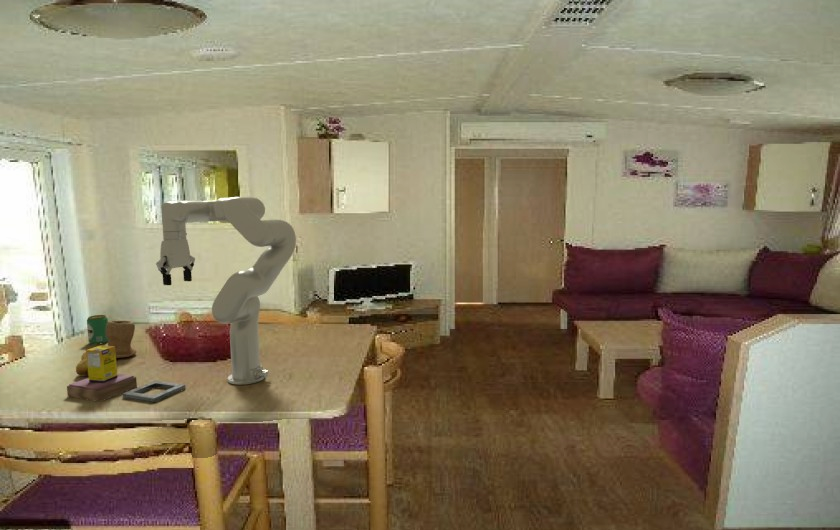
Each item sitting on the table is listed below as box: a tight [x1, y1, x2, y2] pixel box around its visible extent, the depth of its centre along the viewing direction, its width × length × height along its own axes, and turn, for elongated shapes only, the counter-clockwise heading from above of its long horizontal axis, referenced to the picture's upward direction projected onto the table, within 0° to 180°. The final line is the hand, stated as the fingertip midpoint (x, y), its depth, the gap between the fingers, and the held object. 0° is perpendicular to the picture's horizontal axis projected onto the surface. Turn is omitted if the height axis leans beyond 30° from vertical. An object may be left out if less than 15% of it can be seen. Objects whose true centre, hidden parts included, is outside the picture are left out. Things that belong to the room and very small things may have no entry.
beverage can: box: [86, 314, 109, 345], centre depth 234 cm, size 8×8×12 cm
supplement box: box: [85, 344, 118, 383], centre depth 172 cm, size 6×6×11 cm
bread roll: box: [75, 351, 89, 377], centre depth 190 cm, size 13×10×8 cm
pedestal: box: [66, 373, 138, 402], centre depth 172 cm, size 14×14×4 cm
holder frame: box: [122, 380, 186, 404], centre depth 170 cm, size 13×13×2 cm
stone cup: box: [106, 320, 138, 359], centre depth 212 cm, size 15×12×15 cm
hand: (177, 283), depth 189 cm, fingers open, 9 cm apart
